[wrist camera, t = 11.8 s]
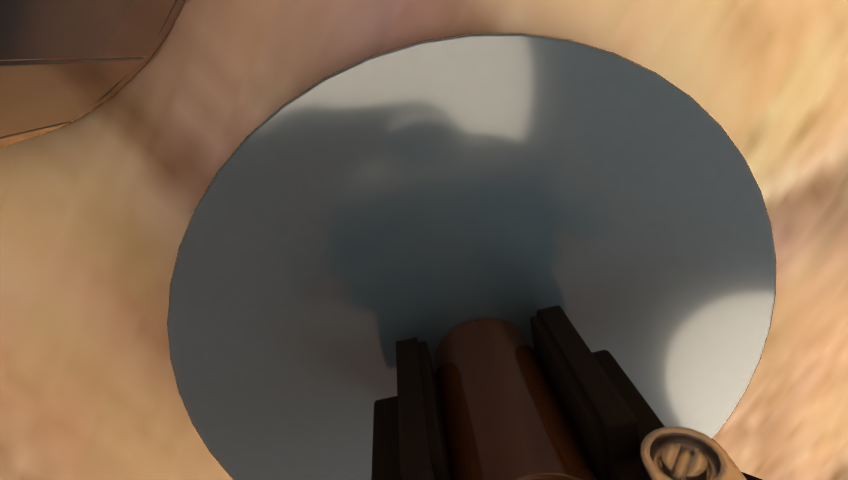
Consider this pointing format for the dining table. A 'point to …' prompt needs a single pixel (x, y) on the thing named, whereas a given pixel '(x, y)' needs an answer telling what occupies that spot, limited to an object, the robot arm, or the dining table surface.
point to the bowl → (71, 57)
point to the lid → (467, 258)
